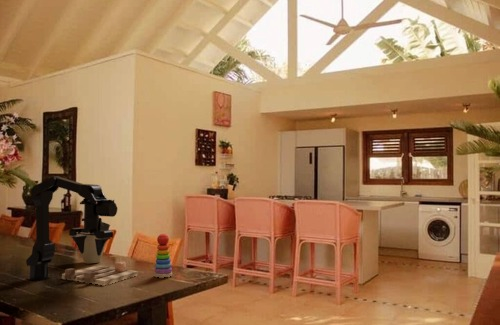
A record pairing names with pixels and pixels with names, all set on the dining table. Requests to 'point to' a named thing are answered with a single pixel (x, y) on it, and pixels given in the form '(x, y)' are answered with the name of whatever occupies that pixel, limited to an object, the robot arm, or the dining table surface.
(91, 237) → the plant pot
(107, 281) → the lane board
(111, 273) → the strip
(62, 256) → the dining table surface
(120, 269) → the pink egg
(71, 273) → the strip
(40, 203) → the robot arm
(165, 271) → the stacking toy
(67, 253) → the dining table surface
